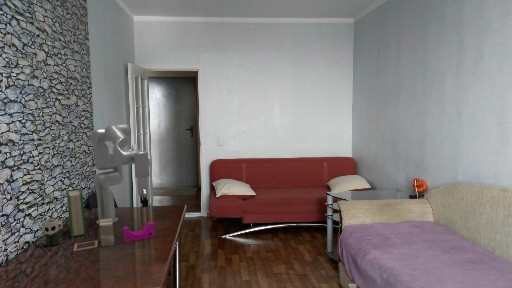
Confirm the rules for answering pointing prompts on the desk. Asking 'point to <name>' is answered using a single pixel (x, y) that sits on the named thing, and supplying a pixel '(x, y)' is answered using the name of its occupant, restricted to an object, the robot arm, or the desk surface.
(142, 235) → the toy block
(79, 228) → the hardback book
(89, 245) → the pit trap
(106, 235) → the tunnel
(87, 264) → the desk surface
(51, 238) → the character mug
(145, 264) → the desk surface
